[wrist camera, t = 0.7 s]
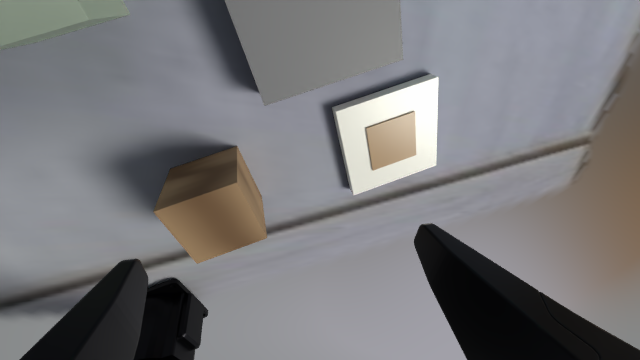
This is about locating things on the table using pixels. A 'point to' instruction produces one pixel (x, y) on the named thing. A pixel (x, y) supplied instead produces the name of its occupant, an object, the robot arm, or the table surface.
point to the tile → (389, 133)
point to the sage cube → (52, 18)
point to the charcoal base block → (314, 41)
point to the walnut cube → (212, 205)
